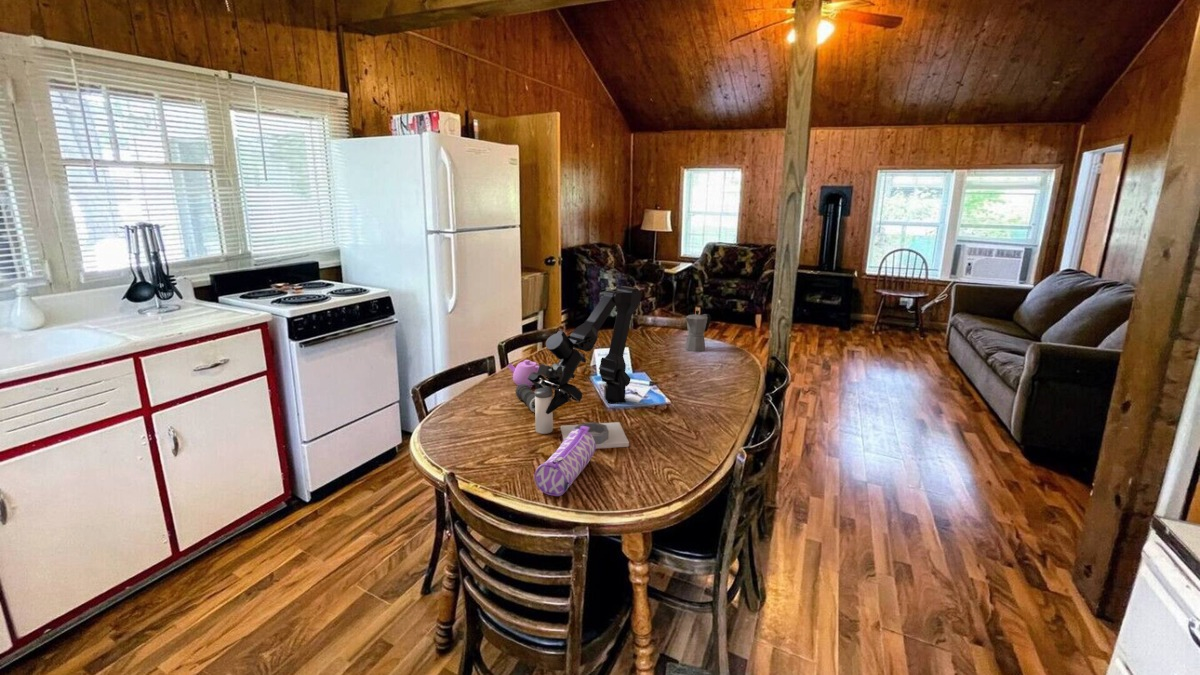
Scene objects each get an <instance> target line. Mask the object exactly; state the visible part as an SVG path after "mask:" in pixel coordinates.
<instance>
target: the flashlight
mask: <svg viewBox="0 0 1200 675" xmlns="http://www.w3.org/2000/svg"><path fill="white" fill-rule="evenodd" d="M515 396H516V397H517V398H518V399H519V400H521V401H523V402H524V404H525V406H527V408H528V409H529V410H530V411H531V412H533V413H535V409H534V408H533V405H534V400H535V395H534V391H533V390H532V388H530V387H529V386H527V385H526V384H521V385H519V386H517V387H516V389H515Z"/></svg>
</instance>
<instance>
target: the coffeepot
mask: <svg viewBox="0 0 1200 675" xmlns="http://www.w3.org/2000/svg"><path fill="white" fill-rule="evenodd" d="M699 313H700V310H695V314H688V315H686V318H685V321H686V327H687V331H688V334H687V337H686V341H685V345H684V348H685V350H686V351H689V352H692V353H693V352H695V353H698V352H699V353H700V352H704V351H706V342H705V335H704V333H705V332H707V331H708V329H709V326H710V323H711V321H712V316H711V315H710V314H709V313H704V314H699Z"/></svg>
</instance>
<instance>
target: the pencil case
mask: <svg viewBox="0 0 1200 675" xmlns="http://www.w3.org/2000/svg"><path fill="white" fill-rule="evenodd" d="M589 428H590V427H587V426H581V427H580V429H574V430H573V431H571V432H570V434H569V435H568V437H567V438H566V439H565V440H564V441H563V440H562V442H561V444H560V445H559V447H558V448H557V449H556V451H554V452H553V453H552V455H551V456H550V457H549V458H548V459H547V460H546V461H544V462H543V463H542V464H540V465H538V467H537V468H536V470H535V472H534V481H535V485H536V487H537V488H538V490H540V491H541V492H542V493H544V494H545V495H548V496H554V497H560V496H563V495H564V494H565V493H566V491H568V489H569V488H570V486H571V485H572V484H573V483H574V481H575V480H576V479H577V478H578V476H579V475H580V474H581V473H582V472H583V471H584V469H585V468H586V466H587V465H588V464H589V462H590V460H591V459H592V457H593V456H594V454H595V452H596V450H597V449H596V444H595V440H594V438H593V436H592V435H591V434H590V433H588V430H589Z"/></svg>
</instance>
